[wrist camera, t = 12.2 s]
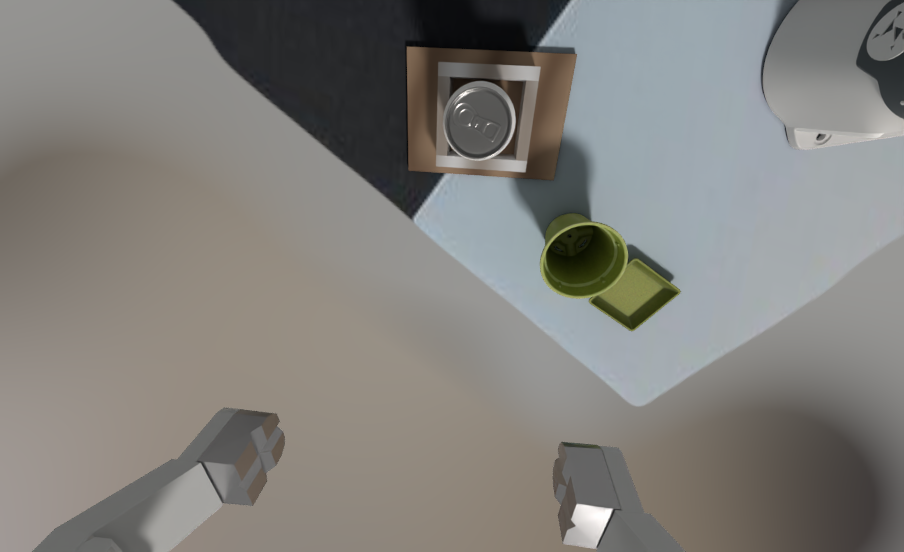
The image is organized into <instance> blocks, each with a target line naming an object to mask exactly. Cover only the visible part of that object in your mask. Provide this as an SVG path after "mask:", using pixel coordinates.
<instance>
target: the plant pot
mask: <svg viewBox="0 0 904 552" xmlns="http://www.w3.org/2000/svg"><path fill="white" fill-rule="evenodd" d="M569 234H570V235H571V237H570V238H568V237H567V236H568V235H569ZM585 239H586V243H585V244H584V246H582V247H579V246H580V245H581V244H582V243H583V242H584V241H585ZM555 246H556V247H557V248H559V249H561V250H563V251H562V252H560V251H558V250H556V249H555V248H554V247H555ZM627 262H628V250H627V246H626V243H625V241H624V239H623V238H622V236H621V235H620V234H619V233H618V232H617V231H616V230H614V229H613V228H611V227H610V226H607V225H605V224H602V223H598V222H592V221H590V220H589V219H587V218H586V217H584V216H583V215H580V214H577V213H569V214H564V215H561V216H559V217H557V218H555V219H554V220H553V221H552V222H551V223H550V225H549V226H548V228H547V230H546V235H545V247H544V249H543V252H542V255H541V259H540V271H541V275H542V278H543V280H544V282H545V283H546V284H547V286H548V287H549V288H550V289H552V290H553V291H554V292H556V293H558V294H560V295H562V296H565V297H569V298H576V299H580V298H589V297H593V296H596V295H599V294H601V293H603V292H605V291H607V290H608V289H610V288H611V287H612V286H613V285H615V284H616V283H617V281H618V280H619V279H620V278H621V276H622V275H623V273H624V271H625V268H626V265H627Z"/></svg>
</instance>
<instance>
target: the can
mask: <svg viewBox="0 0 904 552" xmlns="http://www.w3.org/2000/svg"><path fill="white" fill-rule="evenodd" d="M515 123H516V117H515V110H514V106H513V104H512V101H511V99H510V98H509V96H508V95H507V94H506V92H505V91H504V90H503V89H501V88H500V87H499V86H497V85H495V84H493V83H490V82H486V81H475V82H471V83H468V84H466V85H464V86H462V87H461V88H459V89H458V90H457V91H456V92H455V93H454V94H453V95H452V96H451V98H450V99H449V101H448V103H447V105H446V107H445V111H444V115H443V129H444V134H445V137H446V139H447V141H448V143H449V145H450V146H451V147H452V149H453V150H454V151H455V152H456V153H458V154H459V155H460V156H462V157H464V158H466V159H470V160H475V161H481V160H487V159H490V158H492V157H494V156H496V155H498V154H499V153H500V152H501V151H503V150H504V149H505V147H506V146H507V145H508V143H509V142H510V140H511V138H512V136H513V133H514V129H515Z"/></svg>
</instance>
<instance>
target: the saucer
mask: <svg viewBox="0 0 904 552" xmlns="http://www.w3.org/2000/svg"><path fill="white" fill-rule="evenodd" d="M680 292H681V291H680V289H678V288H677V287H676V286H674V285H673V284H671V283H670V282H669V281H667V280H666V279H665V278H663V277H662V276H661V275H659V274H658V273H657V272H655V271H654V270H653V269H651V268H650V267H648V266H647V265H646V264H645V263H643V262H642V261H640V260H639V259H637V258H634V259H632V260H631V261H630V262H629V263H628V264H627V265H626V268H625V271H624V273H623V275H622V276H621V278H620V279H619V280H618V281H617V283H616V284H615V285H613V286H612V287H611V288H610V289H608V290H607V291H605V292H603V293H601V294H599V295H596V296H593V297H591V298H590V299H589V303H590V304H591V305H593V306H594V307H596V308H597V309H599V310H600V311H602V312H603V313H605V314H606V315H608V316H609V317H611V318H612V319H613V320H615V321H616V322H618V323H619V324H621V325H622V326H624V327H625V328H627V329H628V330H630V331H634V330H635V329H637V328H638V327H639V326H640V325H642V324H643V323H644V322H645V321H646V320H648V319H649V318H650V317H651V316H653V315H654V314H655V313H656V312H657V311H659V310H660V309H661V308H662V307H664V306H665V305H666V304H667V303H669V302H670V301H671V300H672V299H674V298H675V297H676V296H677V295H679V294H680Z"/></svg>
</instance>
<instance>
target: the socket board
mask: <svg viewBox="0 0 904 552" xmlns="http://www.w3.org/2000/svg"><path fill="white" fill-rule="evenodd" d="M576 57H577V54H562V53H539V52H517V51H494V50H472V49H449V48H427V47H407V94H408V164H409V171H424V172H438V173H453V174H468V175H482V176H497V177H512V178H526V179H541V180H554V176H555V170H556V165H557V160H558V154H559V149H560V143H561V138H562V133H563V127H564V122H565V117H566V111H567V106H568V100H569V95H570V90H571V84H572V79H573V74H574V68H575V63H576ZM475 81H486V82H490V83H493V84H495V85H497V86H499V87H500V88H501V89H503V90H504V91H505V92H506V94H507V95H508V96H509V98H510V99H511V101H512V104H513V106H514V110H515V117H516V123H515V129H514V133H513V136H512V138H511V140H510V142H509V143H508V145H507V146H506V147H505V149H504V150H503V151H501V152H500V153H499V154H498V155H496V156H494V157H492V158H490V159H487V160H481V161H475V160H470V159H466V158H464V157H462V156H460V155H459V154H458V153H456V152H455V151H454V150H453V149H452V147H451V146H450V145H449V143H448V141H447V139H446V137H445V134H444V129H443V115H444V111H445V107H446V105H447V103H448V101H449V99H450V98H451V96H452V95H453V94H454V93H455V92H456V91H457V90H458V89H459V88H461V87H462V86H464V85H466V84H468V83H471V82H475Z"/></svg>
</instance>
